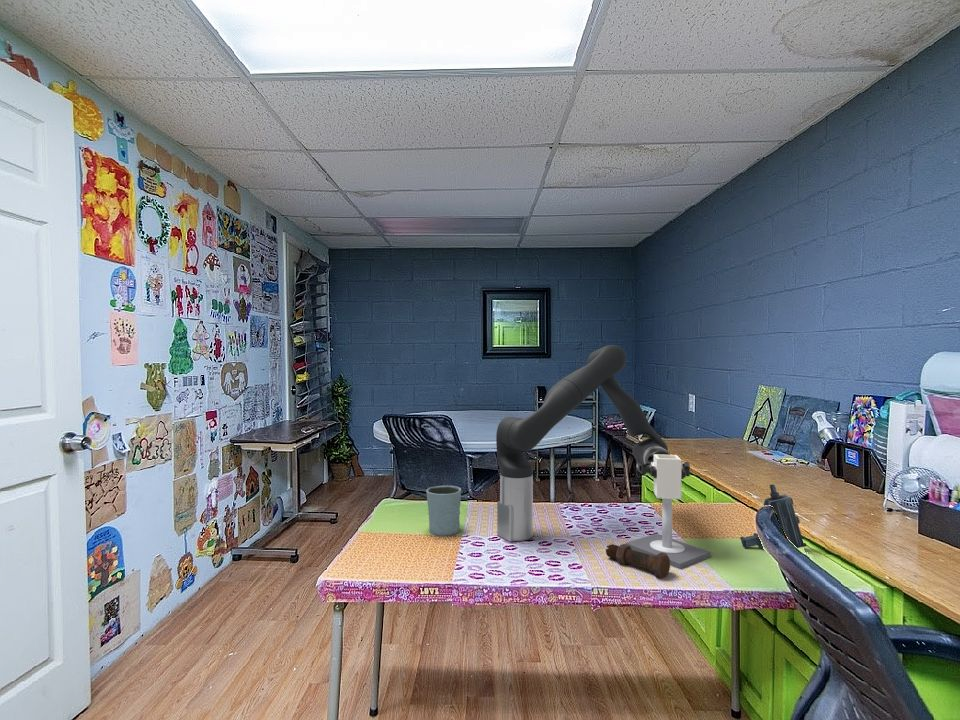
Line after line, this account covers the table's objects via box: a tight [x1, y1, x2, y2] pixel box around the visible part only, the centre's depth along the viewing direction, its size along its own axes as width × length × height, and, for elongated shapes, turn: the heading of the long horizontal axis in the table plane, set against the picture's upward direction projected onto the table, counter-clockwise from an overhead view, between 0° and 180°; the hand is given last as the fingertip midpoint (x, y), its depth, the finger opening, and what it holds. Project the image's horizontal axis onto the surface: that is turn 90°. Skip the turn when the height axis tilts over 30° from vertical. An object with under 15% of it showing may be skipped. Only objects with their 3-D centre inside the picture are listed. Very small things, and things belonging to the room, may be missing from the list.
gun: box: [739, 483, 808, 549], centre depth 129 cm, size 3×17×15 cm
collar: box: [653, 454, 682, 500], centre depth 127 cm, size 6×6×10 cm
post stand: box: [625, 498, 712, 570], centre depth 127 cm, size 13×16×14 cm
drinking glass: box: [425, 485, 462, 537], centre depth 143 cm, size 10×10×12 cm
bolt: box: [605, 543, 671, 579], centre depth 118 cm, size 6×5×15 cm
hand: (668, 474), depth 125 cm, fingers closed on collar, 5 cm apart
